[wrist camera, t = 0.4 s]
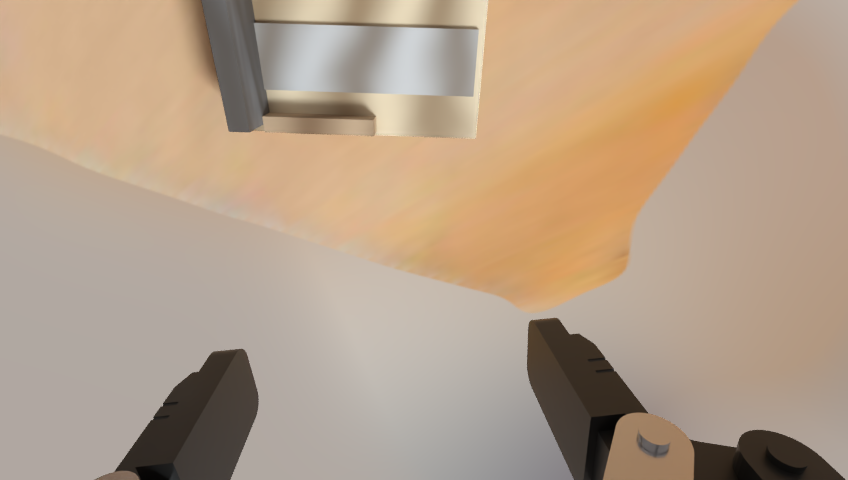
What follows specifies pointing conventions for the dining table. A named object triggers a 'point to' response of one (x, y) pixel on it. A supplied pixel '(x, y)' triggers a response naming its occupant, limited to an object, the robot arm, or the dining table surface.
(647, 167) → the dining table surface
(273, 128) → the rail board
